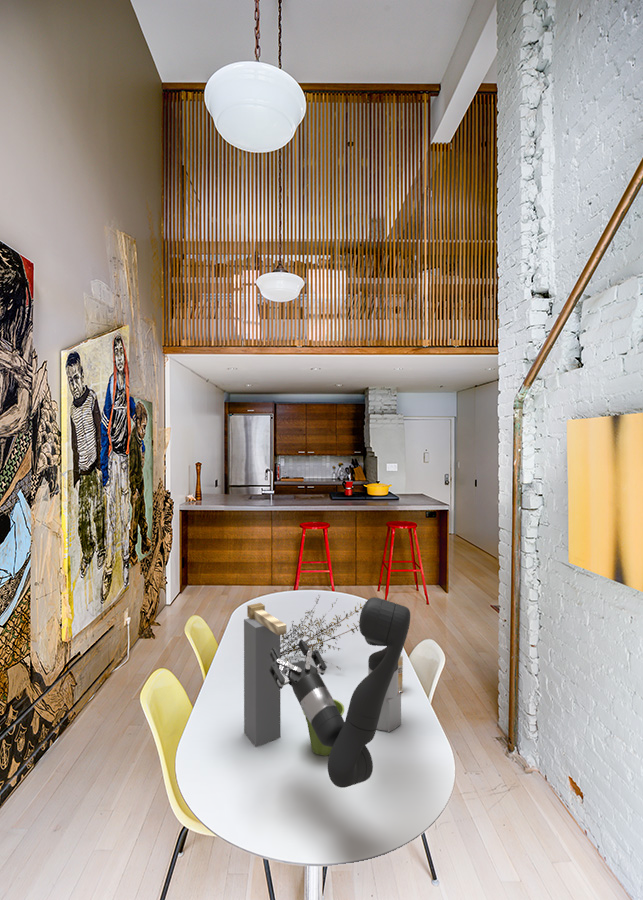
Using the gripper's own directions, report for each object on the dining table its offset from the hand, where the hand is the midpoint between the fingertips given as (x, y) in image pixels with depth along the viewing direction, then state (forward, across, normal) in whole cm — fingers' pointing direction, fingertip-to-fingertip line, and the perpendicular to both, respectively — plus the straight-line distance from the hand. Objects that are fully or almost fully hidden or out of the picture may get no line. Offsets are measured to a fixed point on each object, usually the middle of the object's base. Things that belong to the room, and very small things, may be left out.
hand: (286, 645), depth 124 cm
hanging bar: (+11, 0, +4) cm, 12 cm away
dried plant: (+21, -42, +49) cm, 68 cm away
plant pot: (-16, -12, +28) cm, 34 cm away
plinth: (-3, 0, +35) cm, 35 cm away
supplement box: (-6, -48, +34) cm, 59 cm away
